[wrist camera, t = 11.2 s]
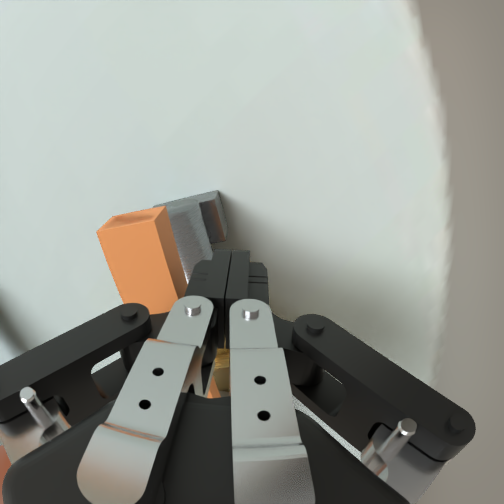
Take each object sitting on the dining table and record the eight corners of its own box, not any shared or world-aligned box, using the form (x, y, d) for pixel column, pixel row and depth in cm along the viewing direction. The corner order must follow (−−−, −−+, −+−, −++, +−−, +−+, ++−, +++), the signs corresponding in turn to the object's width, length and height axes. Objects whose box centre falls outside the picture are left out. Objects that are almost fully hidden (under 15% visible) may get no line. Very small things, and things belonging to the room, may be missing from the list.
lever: (247, 414, 21) (246, 455, 18) (205, 416, 21) (200, 455, 18) (186, 189, 13) (165, 218, 10) (122, 202, 14) (87, 233, 10)
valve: (282, 405, 33) (286, 464, 26) (232, 411, 34) (229, 469, 26) (223, 182, 22) (208, 223, 14) (146, 201, 22) (101, 248, 15)
